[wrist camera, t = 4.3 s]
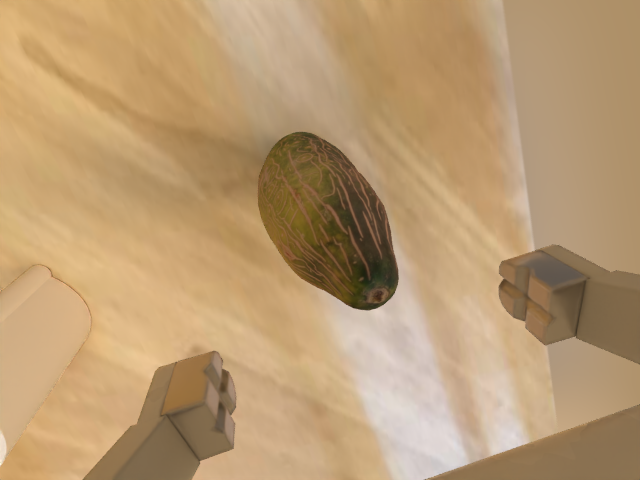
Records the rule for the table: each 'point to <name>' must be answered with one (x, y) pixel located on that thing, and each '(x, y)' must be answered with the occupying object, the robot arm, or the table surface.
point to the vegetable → (327, 221)
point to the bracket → (35, 346)
